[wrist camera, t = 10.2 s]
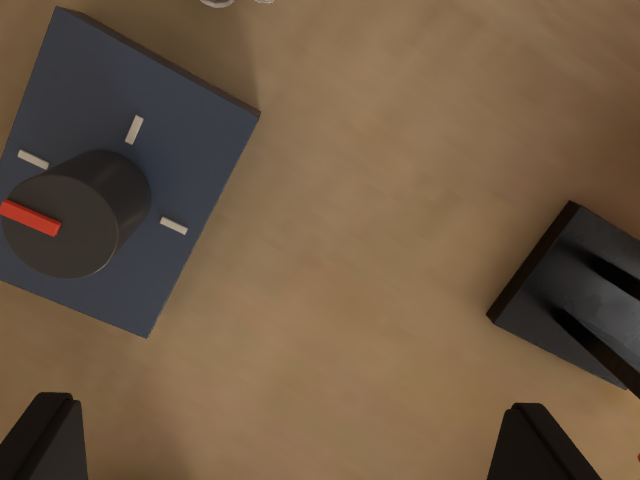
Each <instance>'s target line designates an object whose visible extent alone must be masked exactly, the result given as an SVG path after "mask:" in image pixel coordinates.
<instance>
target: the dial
mask: <svg viewBox="0 0 640 480" xmlns="http://www.w3.org/2000/svg"><path fill="white" fill-rule="evenodd" d="M150 206H151V190H150V186H149V183H148V181H147V179H146V177H145V175H144V174H143V172H142V171H141V170H140V169H139V167H138V166H137V165H136V164H134V163H133V162H132V161H131V160H129V159H128V158H126V157H124V156H123V155H120V154H118V153H115V152H111V151H105V150H95V151H89V152H85V153H83V154H80V155H78V156H76V157H74V158H72V159H70V160H67V161H65V162H63V163H61V164H59V165H57V166H54V167H52V168H50V169H48V170H46V171H44V172H41V173H39V174H37V175H35V176H33V177H31V178H28V179H26V180H25V181H23V182H21V183H20V184H19V185H17V186H16V187H15V188H14V189H13V190H12V191H11V192H10V194H9V195H8V197H7V199H6V200H4V201H2V204H1V207H0V214H1V215H2V228H3V232H4V235H5V238H6V240H7V242H8V244H9V246H10V247H11V249H12V251H13V252H14V253H15V254H16V255H17V257H18V258H19V259H21V260H22V261H23V262H24V263H25V264H26V265H28V266H29V267H31V268H32V269H34V270H36V271H38V272H40V273H42V274H45V275H47V276H51V277H55V278H61V279H76V278H82V277H86V276H89V275H92V274H94V273H96V272H98V271H99V270H101V269H102V268H103V267H104V266H105V265H107V264H108V263H109V261H110V260H111V259H112V258H113V257H114V255H115V254H116V253H117V252H118V251H119V250H120V248H121V247H122V246H123V245H124V244H125V242H126V241H127V240H128V239H129V238H130V236H131V235H132V234H133V233H134V232H135V231H136V229H137V228H138V227H139V226H140V225H141V223H142V222H143V221H144V220H145V218H146V217H147V215H148V213H149V210H150Z"/></svg>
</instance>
